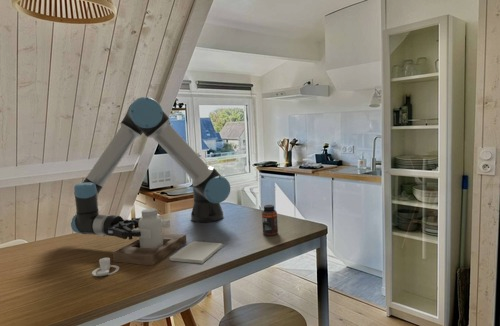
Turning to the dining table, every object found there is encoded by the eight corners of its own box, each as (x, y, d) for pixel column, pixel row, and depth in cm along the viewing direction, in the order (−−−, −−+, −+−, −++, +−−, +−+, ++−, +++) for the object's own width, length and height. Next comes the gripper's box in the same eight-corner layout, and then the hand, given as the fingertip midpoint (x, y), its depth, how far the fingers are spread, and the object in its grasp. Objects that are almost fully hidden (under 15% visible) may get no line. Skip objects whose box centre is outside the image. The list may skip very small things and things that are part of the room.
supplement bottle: (278, 231, 139) (277, 203, 138) (277, 236, 133) (276, 207, 132) (263, 231, 140) (262, 204, 139) (262, 236, 134) (261, 207, 133)
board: (193, 243, 129) (193, 241, 129) (222, 246, 125) (222, 243, 125) (169, 260, 114) (169, 257, 114) (202, 263, 110) (202, 260, 110)
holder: (152, 239, 136) (152, 232, 136) (186, 242, 131) (185, 234, 131) (113, 261, 116) (112, 252, 115) (151, 265, 111) (150, 256, 110)
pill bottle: (168, 249, 125) (165, 208, 123) (151, 257, 118) (147, 214, 116) (153, 246, 129) (149, 206, 127) (135, 253, 122) (132, 211, 120)
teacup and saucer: (105, 280, 103) (103, 266, 102) (84, 277, 105) (82, 264, 105) (125, 267, 111) (123, 255, 110) (104, 265, 113) (103, 253, 113)
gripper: (131, 226, 140) (178, 229, 133) (85, 246, 118) (139, 251, 111) (129, 207, 139) (176, 209, 132) (83, 224, 117) (137, 228, 110)
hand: (159, 228), depth 121 cm, fingers open, 11 cm apart
